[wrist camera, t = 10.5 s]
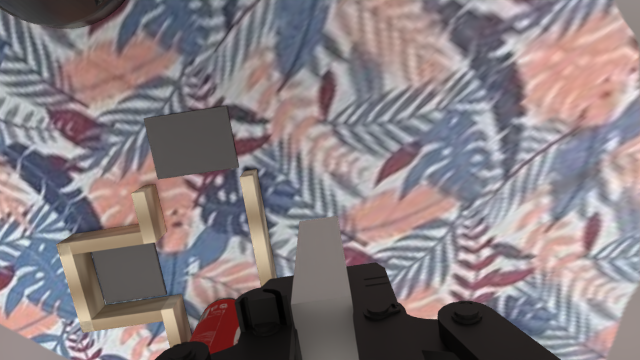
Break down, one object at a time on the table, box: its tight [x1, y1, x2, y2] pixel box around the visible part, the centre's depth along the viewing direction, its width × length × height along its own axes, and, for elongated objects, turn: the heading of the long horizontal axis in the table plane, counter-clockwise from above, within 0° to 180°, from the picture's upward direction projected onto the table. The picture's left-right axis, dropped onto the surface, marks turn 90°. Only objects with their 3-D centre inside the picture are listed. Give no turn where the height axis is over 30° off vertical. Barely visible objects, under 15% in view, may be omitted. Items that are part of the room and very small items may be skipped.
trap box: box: [57, 169, 277, 348], centre depth 44 cm, size 21×20×4 cm
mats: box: [92, 106, 239, 304], centre depth 44 cm, size 18×16×1 cm
